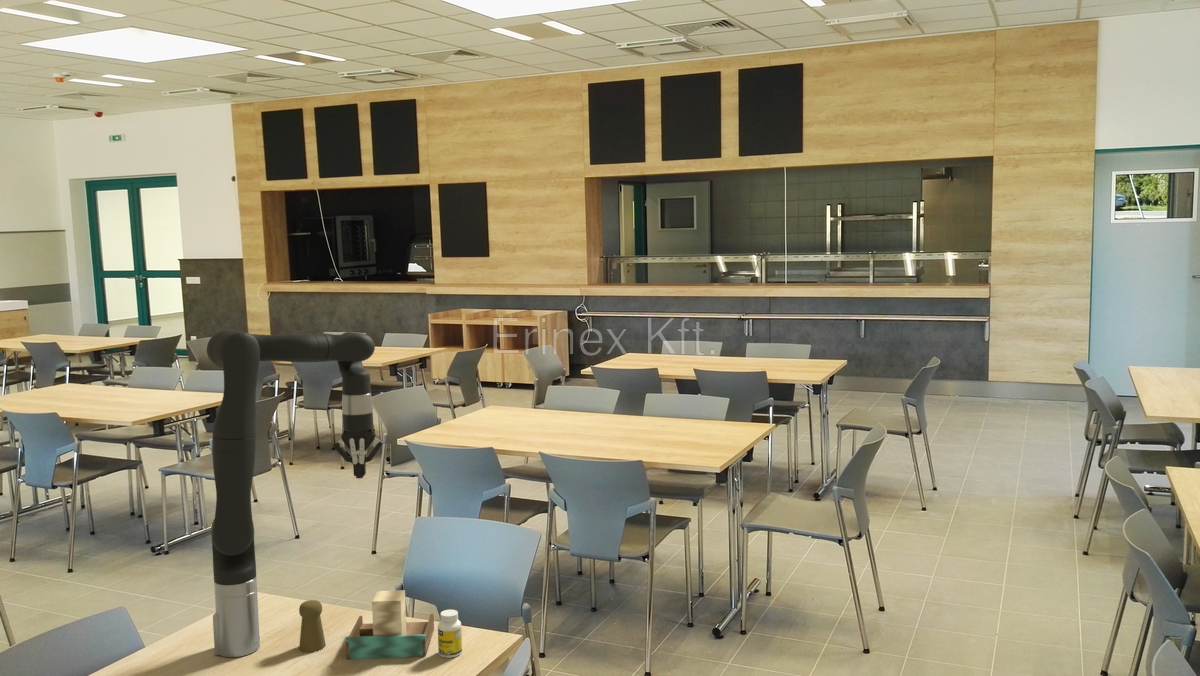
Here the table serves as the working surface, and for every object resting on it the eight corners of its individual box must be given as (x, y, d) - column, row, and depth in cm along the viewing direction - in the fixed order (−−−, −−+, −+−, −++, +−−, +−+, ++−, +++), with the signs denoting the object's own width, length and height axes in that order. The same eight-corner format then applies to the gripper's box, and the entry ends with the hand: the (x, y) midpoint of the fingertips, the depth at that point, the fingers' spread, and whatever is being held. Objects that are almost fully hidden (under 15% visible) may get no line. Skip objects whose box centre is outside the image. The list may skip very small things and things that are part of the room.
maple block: (373, 647, 216) (371, 601, 214) (378, 635, 222) (377, 591, 221) (402, 646, 216) (400, 600, 215) (406, 635, 222) (405, 590, 221)
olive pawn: (313, 639, 225) (311, 595, 224) (331, 645, 222) (329, 600, 221) (293, 649, 220) (291, 603, 219) (311, 654, 217) (309, 608, 216)
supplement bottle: (433, 655, 216) (432, 614, 215) (448, 646, 220) (446, 606, 219) (452, 660, 213) (451, 618, 212) (466, 651, 218) (465, 610, 217)
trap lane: (346, 659, 214) (345, 638, 214) (360, 631, 230) (359, 612, 229) (425, 656, 215) (425, 635, 215) (434, 629, 230) (433, 609, 230)
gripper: (327, 414, 234) (330, 482, 236) (381, 413, 235) (383, 480, 236) (334, 408, 241) (337, 474, 243) (386, 407, 242) (388, 473, 244)
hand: (360, 477), depth 240 cm, fingers closed
